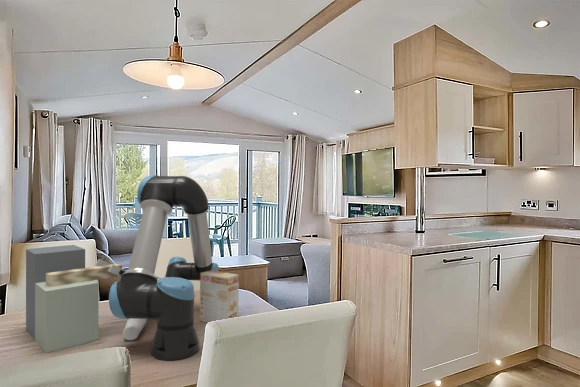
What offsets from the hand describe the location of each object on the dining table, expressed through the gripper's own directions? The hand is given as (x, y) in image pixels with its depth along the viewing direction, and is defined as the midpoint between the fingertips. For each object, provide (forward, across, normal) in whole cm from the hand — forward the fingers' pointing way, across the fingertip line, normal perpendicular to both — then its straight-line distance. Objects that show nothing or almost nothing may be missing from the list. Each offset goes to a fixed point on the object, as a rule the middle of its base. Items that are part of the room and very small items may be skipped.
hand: (103, 264), depth 143 cm
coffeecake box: (-44, -21, -3) cm, 49 cm away
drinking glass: (-14, -16, -17) cm, 27 cm away
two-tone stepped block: (-2, +7, -27) cm, 28 cm away
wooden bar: (+3, 0, -7) cm, 8 cm away
